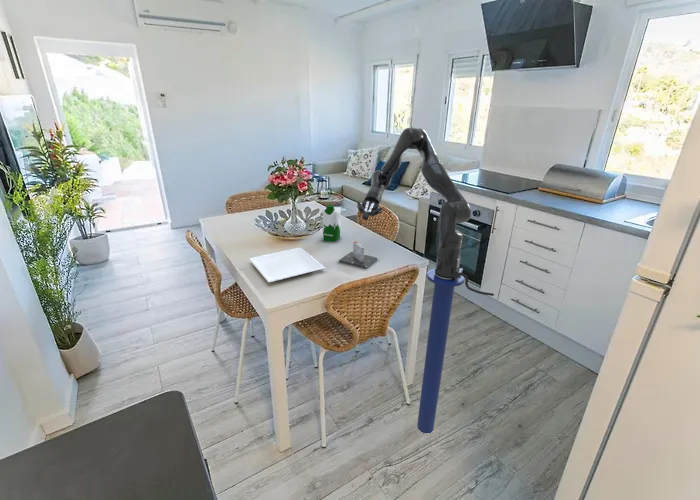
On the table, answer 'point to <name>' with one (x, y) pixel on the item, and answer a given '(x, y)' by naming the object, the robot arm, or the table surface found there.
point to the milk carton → (331, 223)
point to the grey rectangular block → (358, 251)
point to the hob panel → (353, 261)
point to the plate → (285, 264)
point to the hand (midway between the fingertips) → (364, 218)
